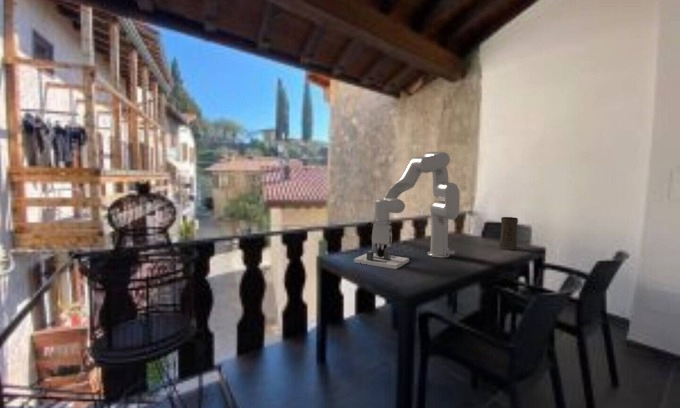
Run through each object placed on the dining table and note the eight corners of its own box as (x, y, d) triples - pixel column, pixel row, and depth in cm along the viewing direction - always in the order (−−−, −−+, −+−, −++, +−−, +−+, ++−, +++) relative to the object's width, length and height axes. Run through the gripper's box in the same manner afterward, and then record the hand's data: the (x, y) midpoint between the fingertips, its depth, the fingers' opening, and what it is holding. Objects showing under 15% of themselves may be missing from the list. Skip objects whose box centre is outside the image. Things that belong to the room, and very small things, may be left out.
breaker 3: (390, 258, 223) (390, 250, 222) (388, 259, 220) (388, 251, 220) (386, 257, 224) (386, 250, 223) (383, 258, 221) (384, 251, 221)
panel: (408, 261, 226) (408, 257, 225) (395, 269, 210) (396, 265, 210) (368, 255, 238) (368, 252, 237) (353, 262, 222) (353, 258, 222)
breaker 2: (382, 254, 231) (382, 247, 231) (380, 255, 229) (380, 248, 228) (378, 253, 233) (378, 246, 232) (376, 255, 230) (376, 247, 230)
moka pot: (390, 256, 237) (391, 221, 235) (363, 254, 240) (364, 220, 238) (391, 252, 247) (393, 219, 244) (366, 251, 250) (366, 217, 247)
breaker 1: (373, 258, 221) (373, 251, 221) (370, 260, 219) (371, 252, 218) (369, 258, 222) (369, 250, 222) (366, 259, 220) (366, 251, 219)
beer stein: (520, 250, 258) (521, 218, 257) (502, 250, 258) (504, 217, 257) (510, 247, 273) (511, 216, 272) (493, 246, 273) (495, 216, 273)
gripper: (397, 223, 221) (396, 257, 223) (372, 220, 229) (371, 253, 231) (392, 224, 215) (391, 259, 217) (366, 222, 222) (365, 256, 224)
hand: (381, 256), depth 224 cm, fingers closed
